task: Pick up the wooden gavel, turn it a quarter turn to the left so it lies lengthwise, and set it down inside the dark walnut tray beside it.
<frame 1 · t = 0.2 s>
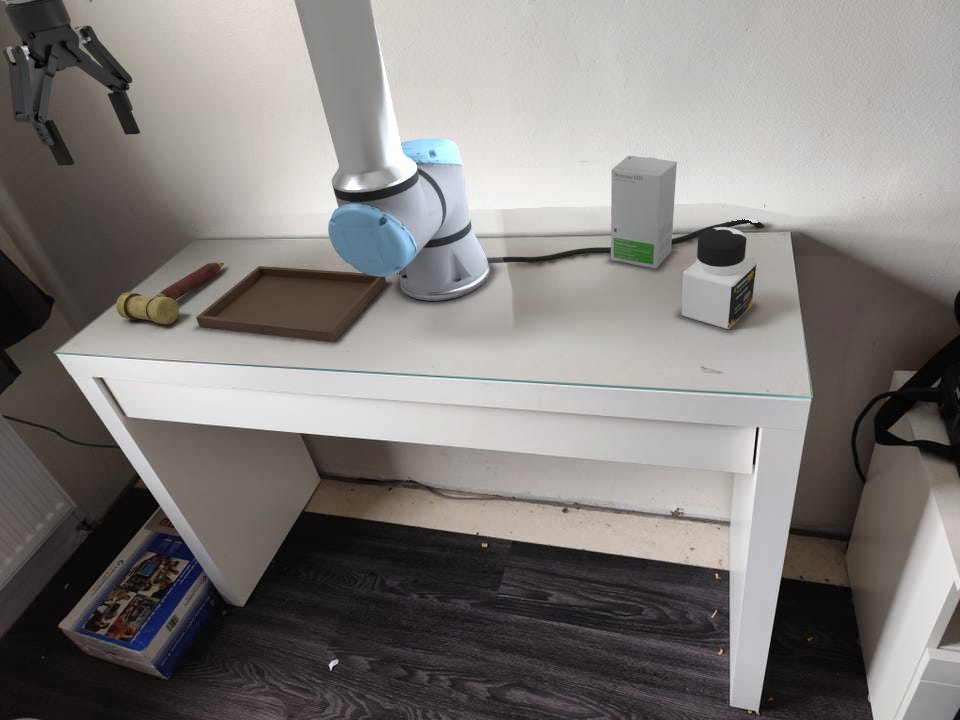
hand: (101, 148, 106), 28 cm above the table, tool pointing down, fingers open, 13 cm apart
gavel: (187, 296, 122), on the table
tray: (294, 305, 113), on the table
medicine bottle: (716, 312, 94), on the table
cosmetic box: (642, 257, 110), on the table
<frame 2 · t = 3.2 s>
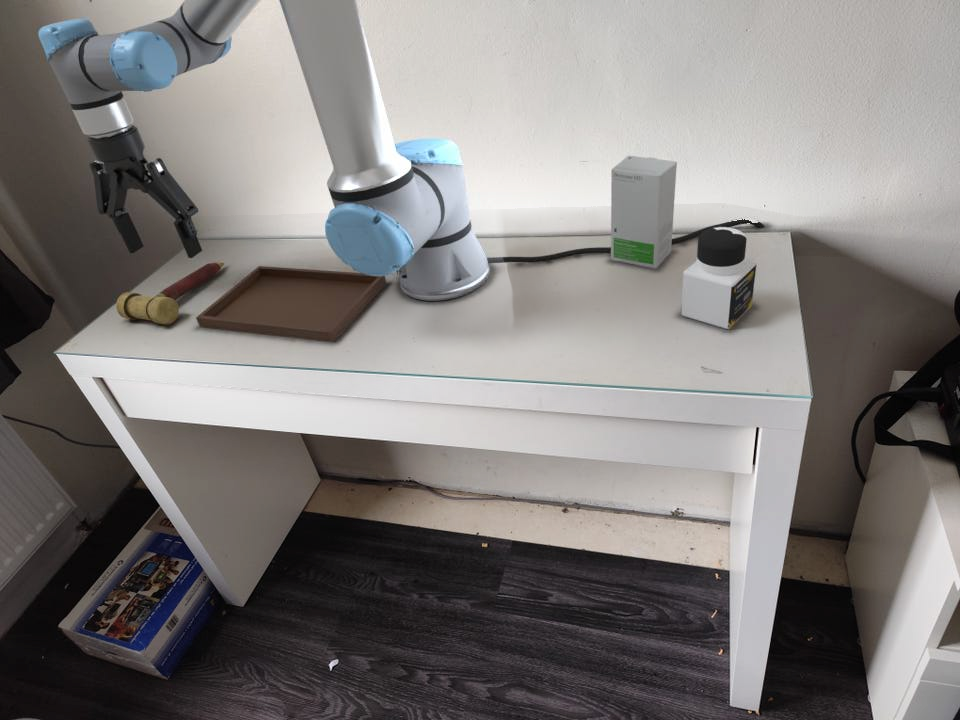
hand: (165, 252, 117), 9 cm above the table, tool pointing down, fingers open, 13 cm apart
nothing on the table moved.
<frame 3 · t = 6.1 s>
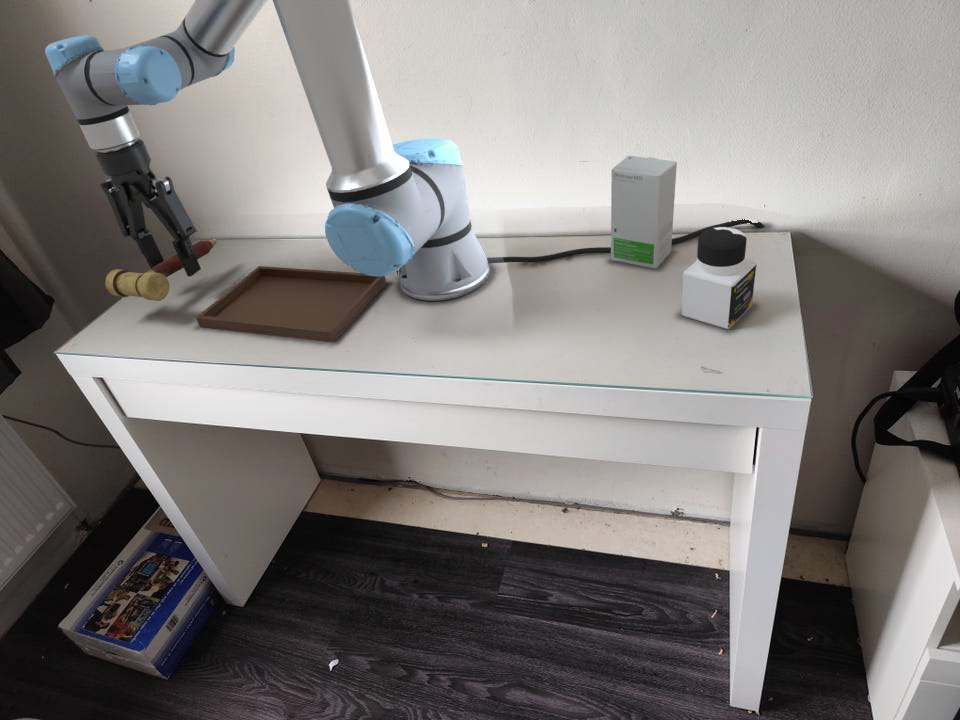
hand: (177, 271, 119), 5 cm above the table, tool pointing down, fingers closed on gavel, 7 cm apart
gavel: (178, 273, 119), point 4 cm above the table, touching gripper
everything else where it was.
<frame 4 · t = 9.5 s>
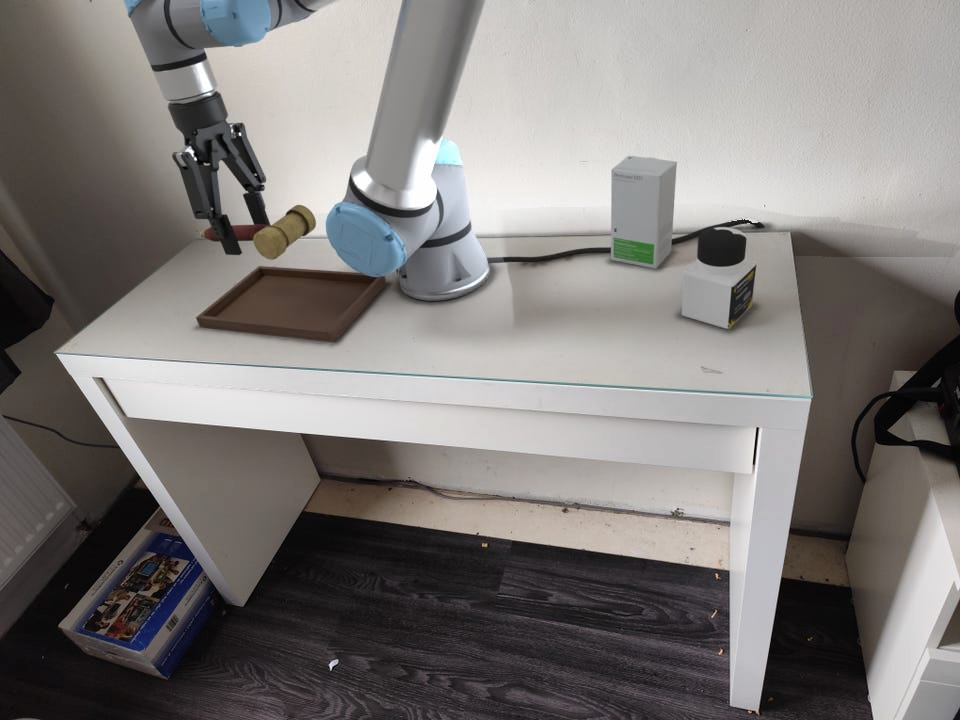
hand: (249, 241, 108), 12 cm above the table, tool pointing down, fingers closed on gavel, 7 cm apart
gavel: (251, 243, 108), point 11 cm above the table, touching gripper
everything else where it was.
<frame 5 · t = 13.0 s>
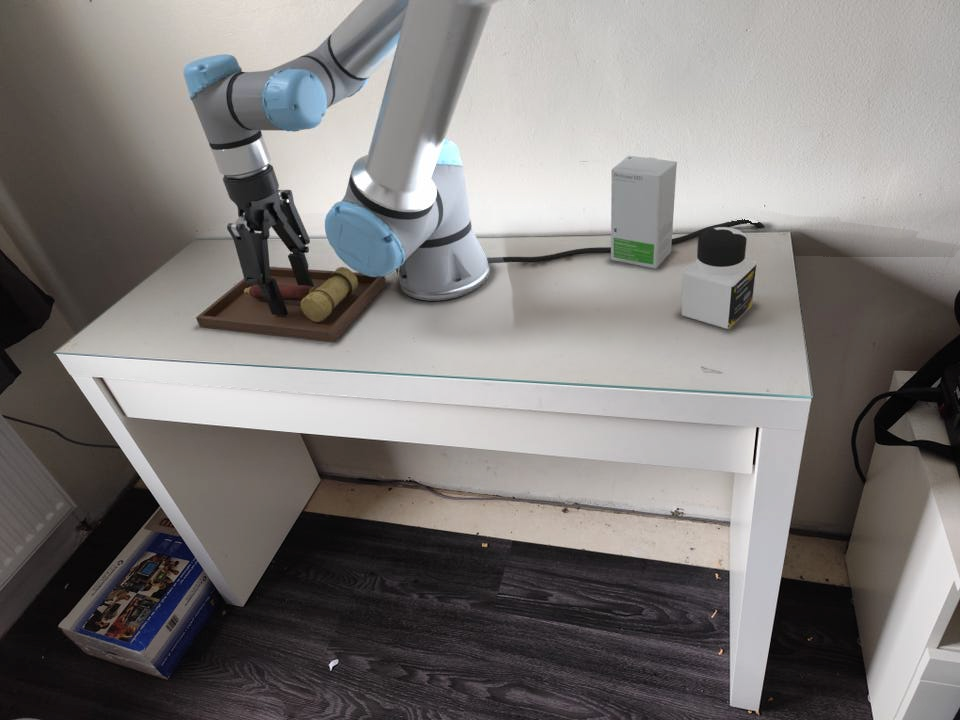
hand: (293, 300, 113), 1 cm above the table, tool pointing down, fingers closed on gavel, 7 cm apart
gavel: (295, 302, 113), resting on tray, touching gripper
everything else where it was.
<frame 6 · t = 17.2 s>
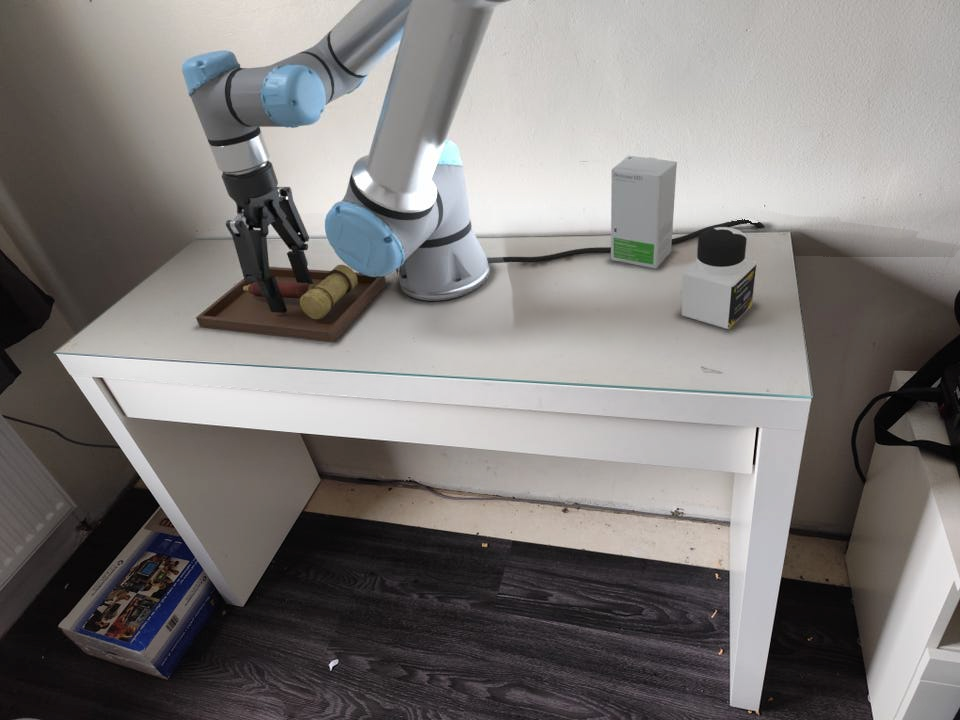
hand: (293, 298, 112), 1 cm above the table, tool pointing down, fingers closed on gavel, 7 cm apart
gavel: (294, 300, 113), point 1 cm above the table, touching gripper
everything else where it was.
when the fingers open (2 cm above the table, at t = 21.4 s): gavel drops 1 cm, resting on tray.
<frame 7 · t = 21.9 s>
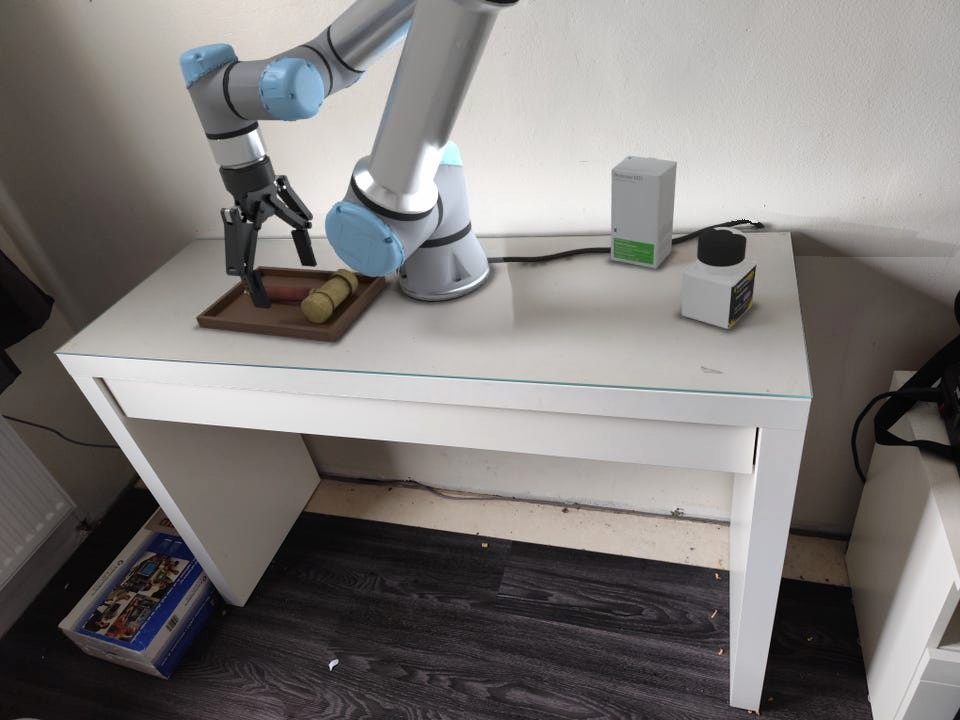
hand: (287, 285, 111), 4 cm above the table, tool pointing down, fingers open, 13 cm apart
gavel: (295, 303, 113), resting on tray
everything else where it was.
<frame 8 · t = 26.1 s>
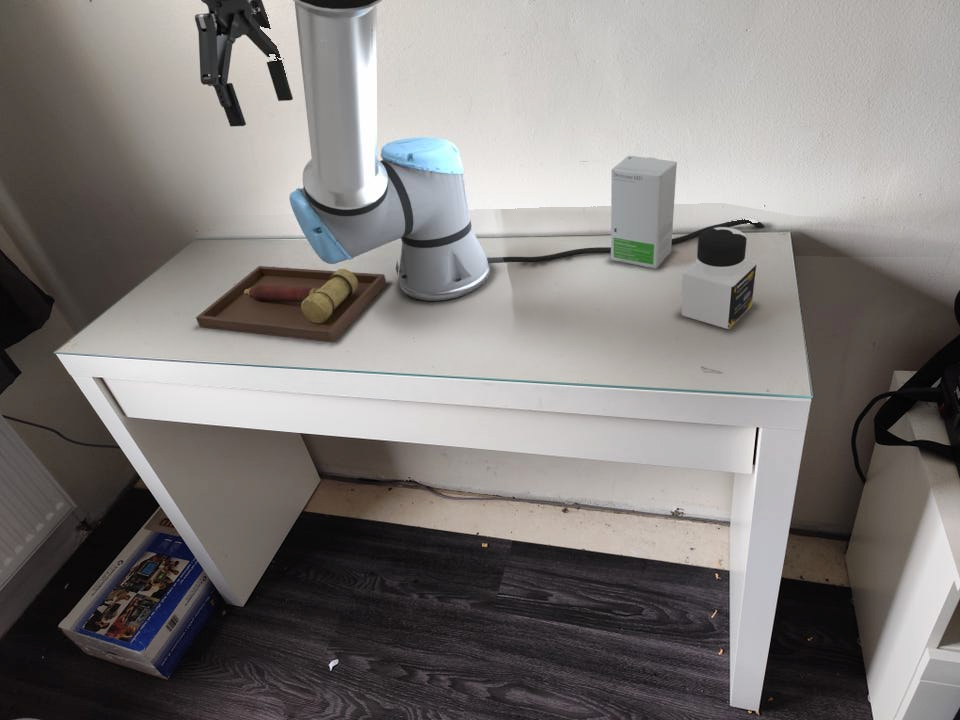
hand: (263, 112, 114), 27 cm above the table, tool pointing down, fingers open, 13 cm apart
nothing on the table moved.
at the end: gavel inside the target area in the tray (0.1 cm from its centre), point 0.2 cm above the tray's base; gavel touching tray; the gripper is holding nothing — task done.
